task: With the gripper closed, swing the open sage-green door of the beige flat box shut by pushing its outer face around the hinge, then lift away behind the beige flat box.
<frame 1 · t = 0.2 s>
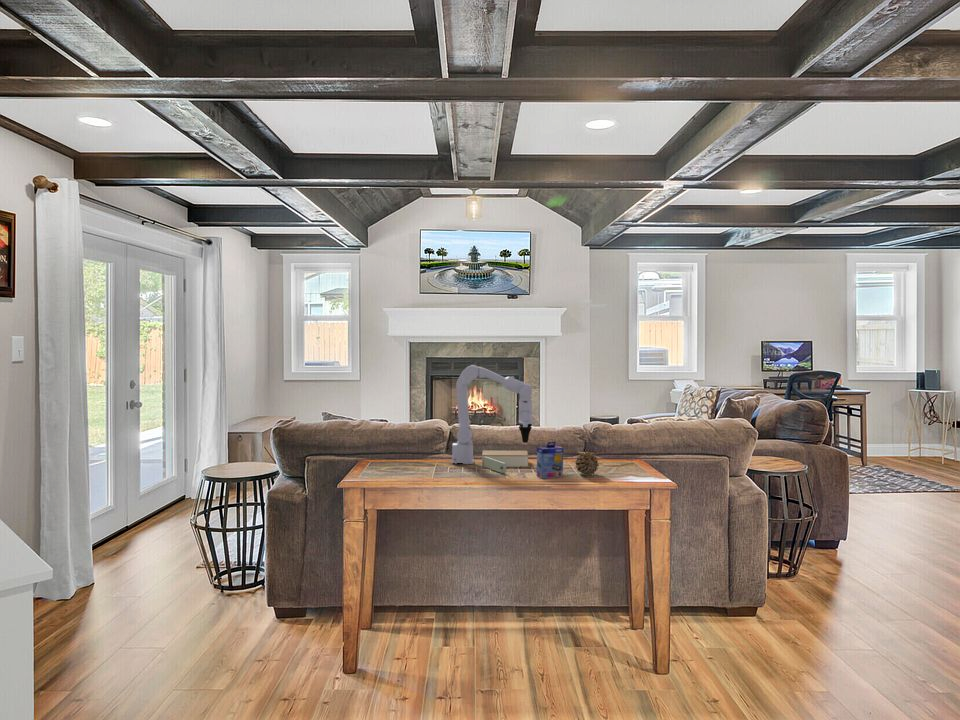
hand: (525, 441, 296), 10 cm above the table, tool pointing down, fingers open, 7 cm apart
door: (493, 464, 281), point 2 cm above the table, hinge at -60.0°
beige flat box: (504, 463, 295), on the table
pine cone: (585, 474, 274), on the table
ink cartridge box: (549, 477, 267), on the table
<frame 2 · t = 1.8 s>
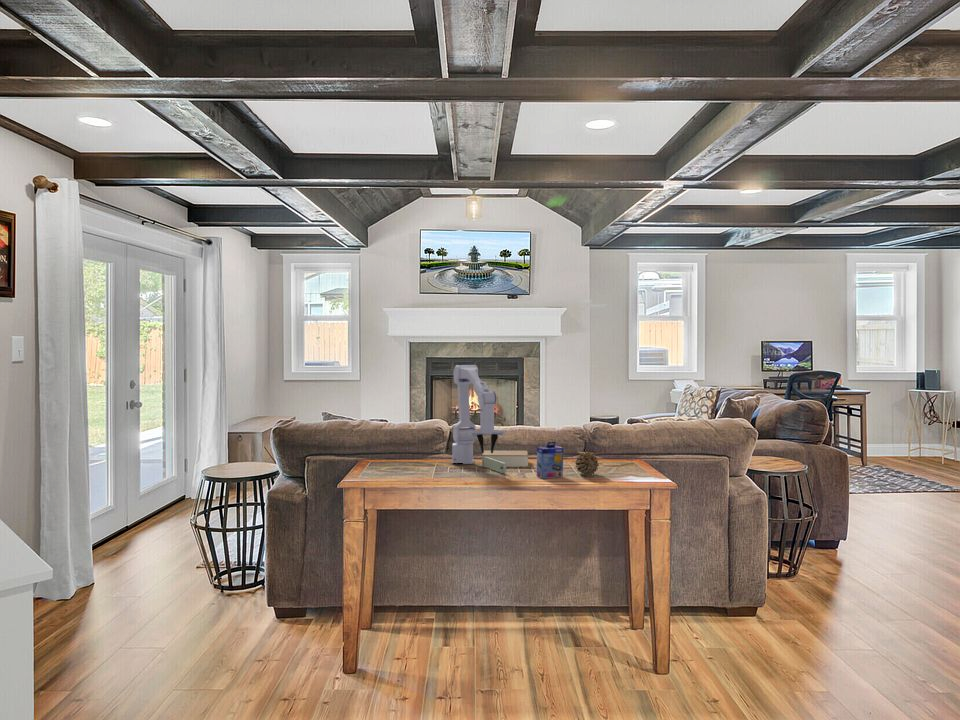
hand: (487, 452, 276), 8 cm above the table, tool pointing down, fingers open, 3 cm apart
nothing on the table moved.
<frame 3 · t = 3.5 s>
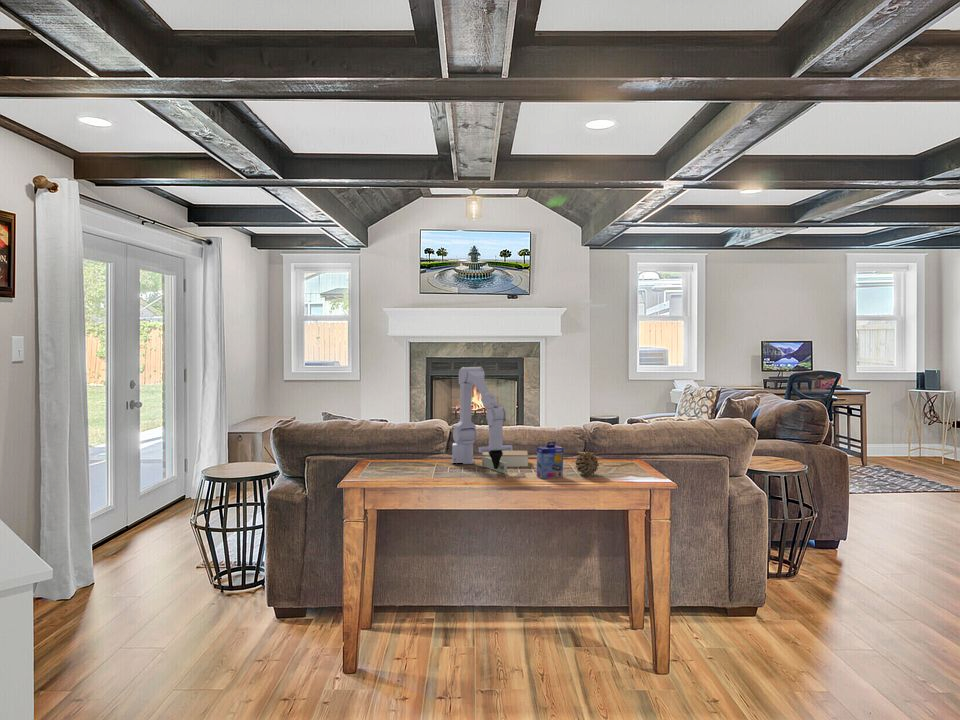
hand: (495, 468, 277), 2 cm above the table, tool pointing down, fingers closed
door: (493, 464, 281), point 2 cm above the table, hinge at -58.8°, touching gripper
everything else where it was.
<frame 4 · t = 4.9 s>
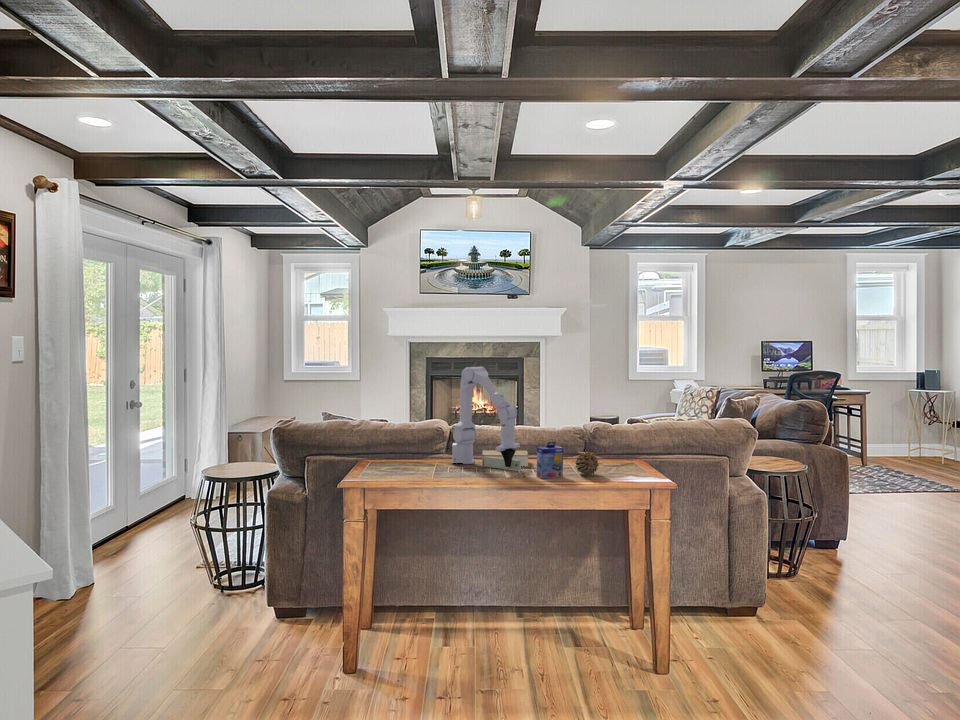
hand: (508, 466, 280), 2 cm above the table, tool pointing down, fingers closed
door: (501, 463, 284), point 2 cm above the table, hinge at -30.4°, touching gripper
everything else where it was.
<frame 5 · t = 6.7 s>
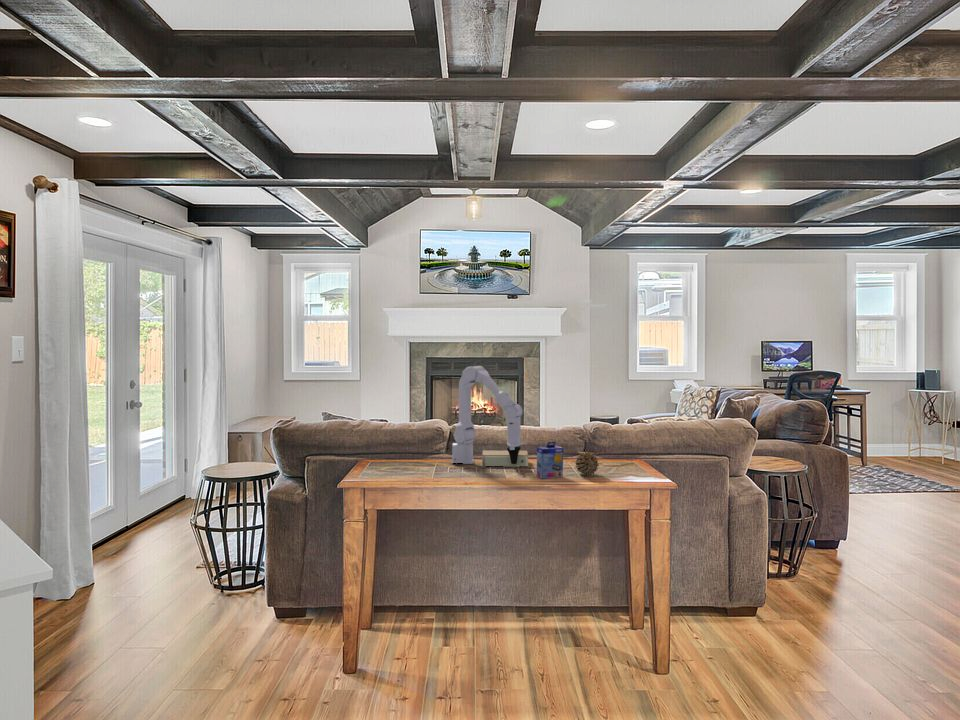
hand: (513, 463, 287), 2 cm above the table, tool pointing down, fingers closed
door: (504, 461, 288), point 2 cm above the table, hinge at 0.4°, touching gripper
everything else where it was.
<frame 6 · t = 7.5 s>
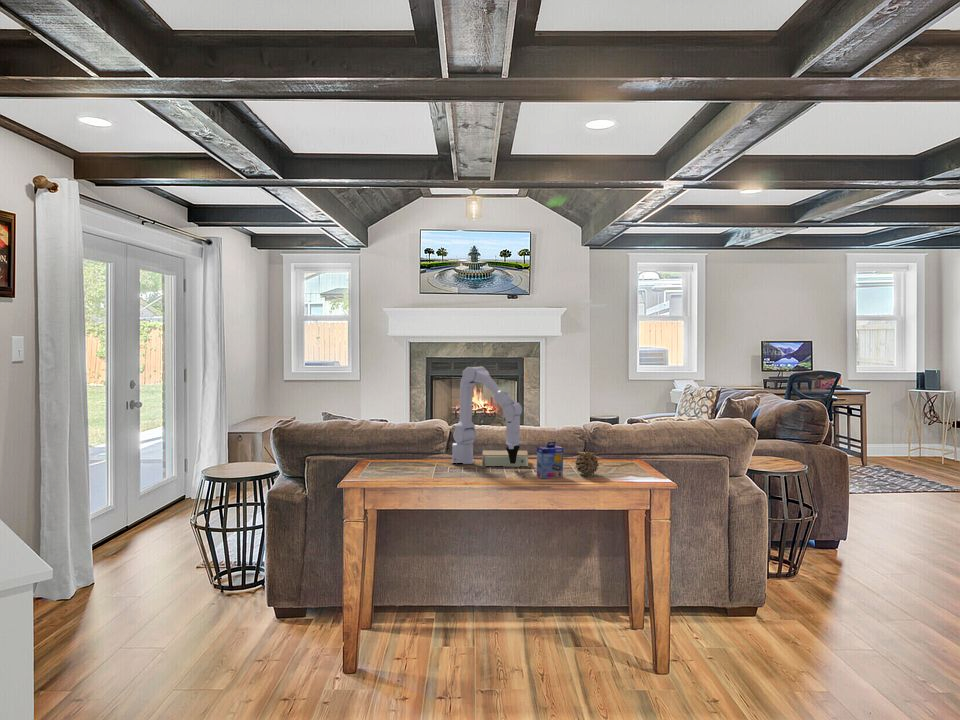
hand: (512, 463, 282), 3 cm above the table, tool pointing down, fingers closed
door: (504, 461, 288), point 2 cm above the table, hinge at 0.4°
everything else where it was.
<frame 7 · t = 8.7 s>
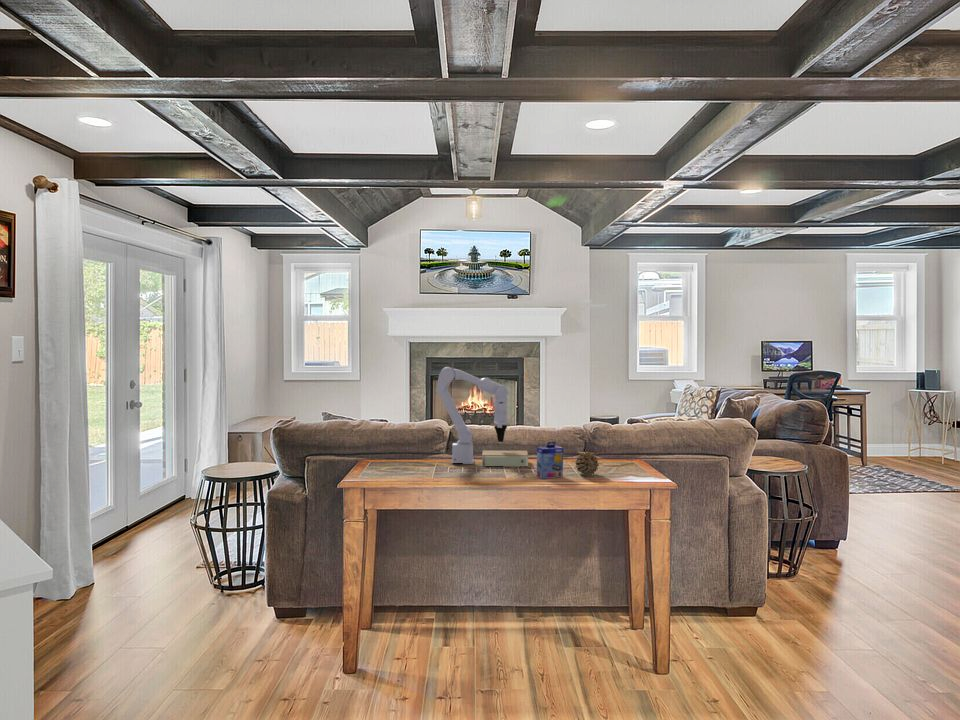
hand: (500, 441, 299), 9 cm above the table, tool pointing down, fingers closed
nothing on the table moved.
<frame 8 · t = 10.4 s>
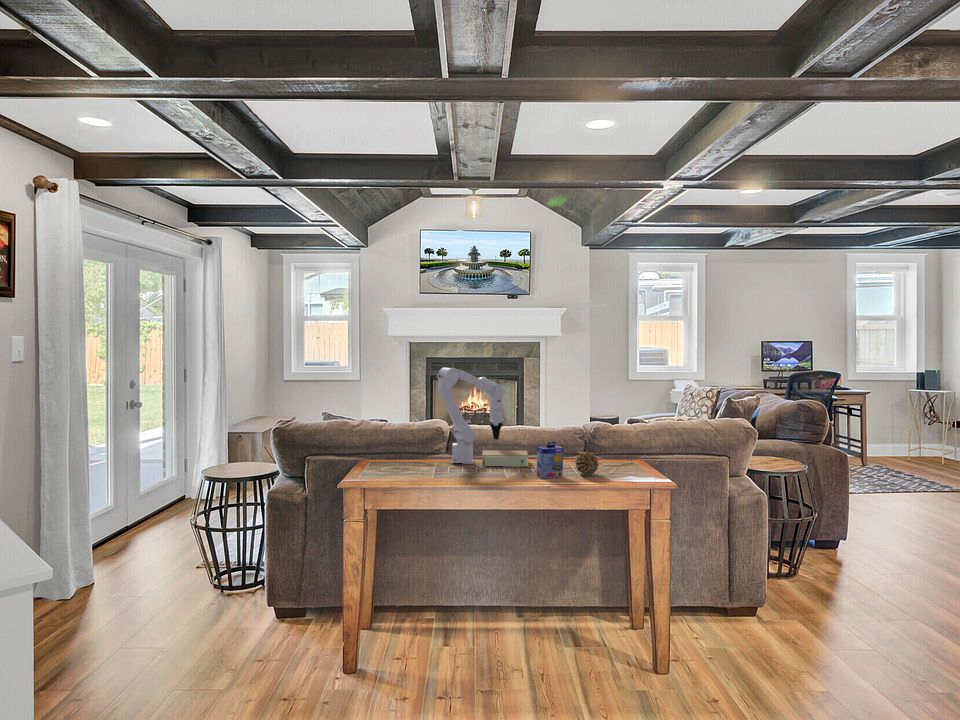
hand: (496, 439, 306), 9 cm above the table, tool pointing down, fingers closed
nothing on the table moved.
at the end: door at +0° (first picture: -60°); ink cartridge box moved 0.3 cm from its start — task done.
